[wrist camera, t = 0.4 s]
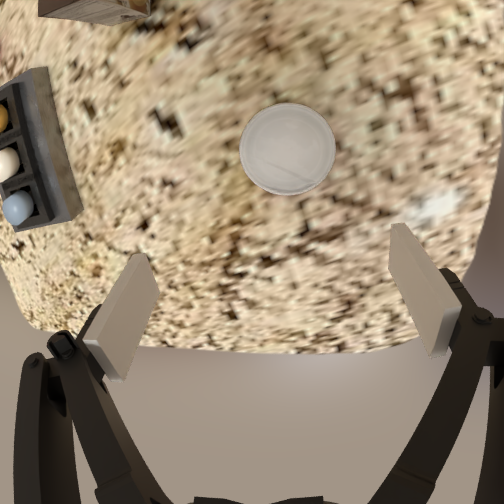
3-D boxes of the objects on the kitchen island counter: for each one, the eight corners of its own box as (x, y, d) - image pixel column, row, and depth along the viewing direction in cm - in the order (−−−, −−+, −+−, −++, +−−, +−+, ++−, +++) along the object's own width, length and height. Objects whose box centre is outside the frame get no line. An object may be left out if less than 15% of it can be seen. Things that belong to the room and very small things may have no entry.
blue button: (23, 184, 41) (-1, 201, 36) (41, 178, 41) (16, 195, 35) (32, 208, 44) (9, 227, 38) (49, 204, 43) (26, 223, 37)
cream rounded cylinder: (11, 145, 38) (-15, 158, 32) (29, 137, 37) (1, 149, 32) (19, 170, 40) (-7, 185, 34) (36, 163, 40) (10, 178, 34)
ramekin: (249, 187, 43) (247, 201, 39) (235, 106, 38) (230, 111, 33) (331, 177, 42) (339, 190, 37) (323, 95, 36) (331, 98, 32)
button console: (-9, 98, 35) (-31, 105, 31) (47, 66, 34) (24, 69, 29) (27, 222, 47) (9, 237, 43) (83, 209, 46) (66, 225, 41)
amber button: (2, 105, 34) (-26, 114, 29) (19, 95, 34) (-9, 103, 28) (8, 130, 37) (-20, 142, 31) (25, 121, 36) (-3, 132, 30)
